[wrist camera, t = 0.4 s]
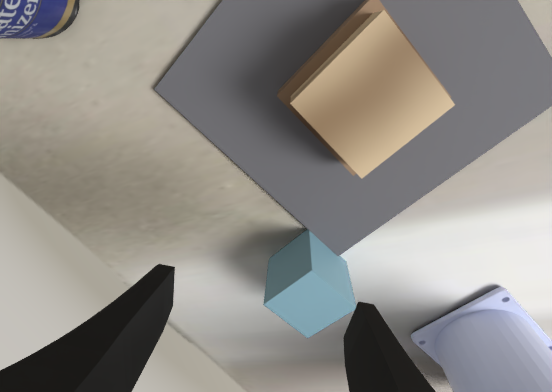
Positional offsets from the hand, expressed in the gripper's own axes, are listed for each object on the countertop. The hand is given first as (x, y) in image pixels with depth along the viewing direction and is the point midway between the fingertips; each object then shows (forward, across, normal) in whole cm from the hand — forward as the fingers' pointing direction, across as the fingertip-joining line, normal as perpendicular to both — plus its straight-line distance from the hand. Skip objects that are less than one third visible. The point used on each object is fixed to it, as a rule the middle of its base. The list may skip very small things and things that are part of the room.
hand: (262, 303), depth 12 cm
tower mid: (+7, -3, -7) cm, 11 cm away
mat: (+10, -3, -7) cm, 12 cm away
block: (+10, -3, +5) cm, 11 cm away
